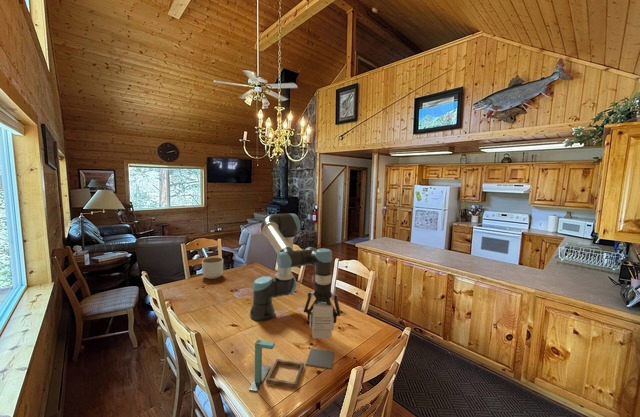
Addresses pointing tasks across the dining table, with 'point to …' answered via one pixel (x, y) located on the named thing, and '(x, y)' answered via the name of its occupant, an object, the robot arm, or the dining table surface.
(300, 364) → the frame
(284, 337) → the dining table surface
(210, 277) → the planter
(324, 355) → the coaster
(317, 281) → the robot arm
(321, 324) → the supplement box
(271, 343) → the teal bent bar
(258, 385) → the rail
